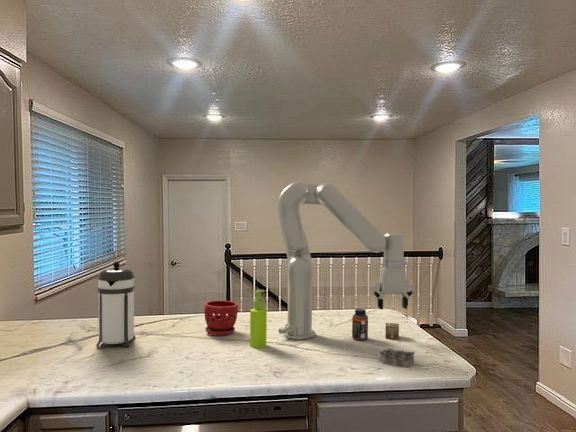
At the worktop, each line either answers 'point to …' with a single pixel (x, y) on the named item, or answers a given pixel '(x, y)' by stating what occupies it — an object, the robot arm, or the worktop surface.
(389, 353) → the egg carton
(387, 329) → the letter t block
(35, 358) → the worktop surface
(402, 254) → the robot arm
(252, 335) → the soap dispenser
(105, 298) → the coffee press
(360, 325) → the supplement bottle
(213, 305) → the plant pot
